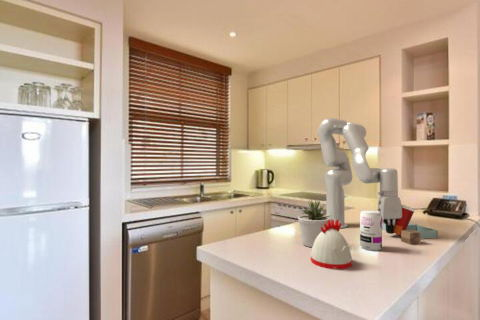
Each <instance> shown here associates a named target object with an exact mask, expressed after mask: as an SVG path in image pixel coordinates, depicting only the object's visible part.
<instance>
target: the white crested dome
mask: <svg viewBox="0 0 480 320" xmlns="http://www.w3.org/2000/svg"><path fill="white" fill-rule="evenodd" d="M341 224H342V223H339V225H338V220H336V221H335V225H334V220H332V219H331V223H330V220H328V222H327V225H326V223H324V227H325V229H323V228H322V227H320V228H321V230H322V232H321V233H320V234H319V235H318V236H317V238H316V239H315V241H314V244H313V247H311V252H310V261H311V263H312V264H313V265H315V266H318V267H320V268H324V269H330V270H344V269H349V268H351V267H352V265H353V256H352V253H351V250H350V247H349V244H348V242H347V240H346V238H345V237H344V236H343V235H342V233H341V232H340V230H341V228H340V227H341Z"/></svg>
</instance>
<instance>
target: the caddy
mask: <svg viewBox="0 0 480 320" xmlns="http://www.w3.org/2000/svg"><path fill="white" fill-rule="evenodd" d="M406 230H413V231H416V232H420V240H422V239H437V238H438V236H439V235H438V229H434V228H430V227H427V226H423V225H420V224H416V223H412V222H409V224H408V226H407V228H406ZM382 231H384V232H386V224H384V222H382Z"/></svg>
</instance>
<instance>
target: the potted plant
mask: <svg viewBox="0 0 480 320" xmlns="http://www.w3.org/2000/svg"><path fill="white" fill-rule="evenodd" d="M314 200H315V201H313V199H312V198H310V201H307V204H308V205H309V206H308V207H310V209H302V210H299V212H301V213H302V214H303V215H300V216H298V217H297V220H298V223H299V231H300V236H301V241H302V245H303V246H306V247H308V248H312V247H313V244H314V241H315V239H316V238H317V236H318V235H319V234H320V233H321V232H322V230H321V228H320V227H322V228H323V229H325V227H324V223H326V225H327V222H328V220H329V219H328V218H327V217H329V216H327V212H323V213H322V211H323V209H324V206H325V205H326V203H324V204H323V205H321V204H320V203H321V201H320V200H319V199H314ZM325 215H326V216H325ZM330 216H332V215H330Z"/></svg>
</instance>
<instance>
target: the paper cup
mask: <svg viewBox="0 0 480 320" xmlns="http://www.w3.org/2000/svg"><path fill="white" fill-rule="evenodd" d="M401 205H402V218H400V219H397V221H396V223H395V225H394V233H393V234H395V235H397V236H400V237H401V230H406V228H407V226H408V224H409V223H411V222H410V221H411V220H412V217H413V215H414V213H415V208H412V207H410V206H407V205H404V204H401Z"/></svg>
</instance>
